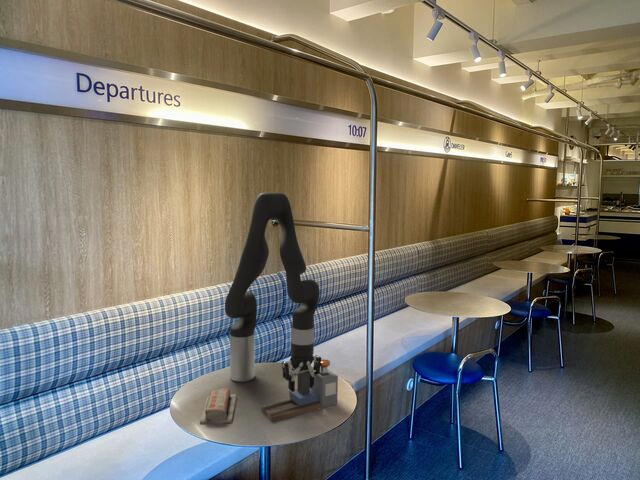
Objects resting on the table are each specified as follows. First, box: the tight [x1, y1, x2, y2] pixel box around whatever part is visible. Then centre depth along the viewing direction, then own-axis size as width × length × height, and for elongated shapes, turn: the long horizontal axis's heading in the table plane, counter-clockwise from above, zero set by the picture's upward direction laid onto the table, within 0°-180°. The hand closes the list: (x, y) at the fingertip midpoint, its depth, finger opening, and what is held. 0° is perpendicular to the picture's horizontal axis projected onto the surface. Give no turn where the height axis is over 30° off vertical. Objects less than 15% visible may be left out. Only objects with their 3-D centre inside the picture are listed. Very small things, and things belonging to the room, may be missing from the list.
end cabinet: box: [310, 368, 339, 409], centre depth 162 cm, size 8×6×10 cm
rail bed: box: [261, 398, 322, 422], centre depth 156 cm, size 8×18×2 cm, turn 121°
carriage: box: [288, 370, 318, 406], centre depth 158 cm, size 7×7×9 cm
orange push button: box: [320, 358, 331, 376], centre depth 162 cm, size 4×4×6 cm
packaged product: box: [199, 387, 237, 425], centre depth 156 cm, size 18×5×10 cm
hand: (301, 388), depth 158 cm, fingers open, 6 cm apart
